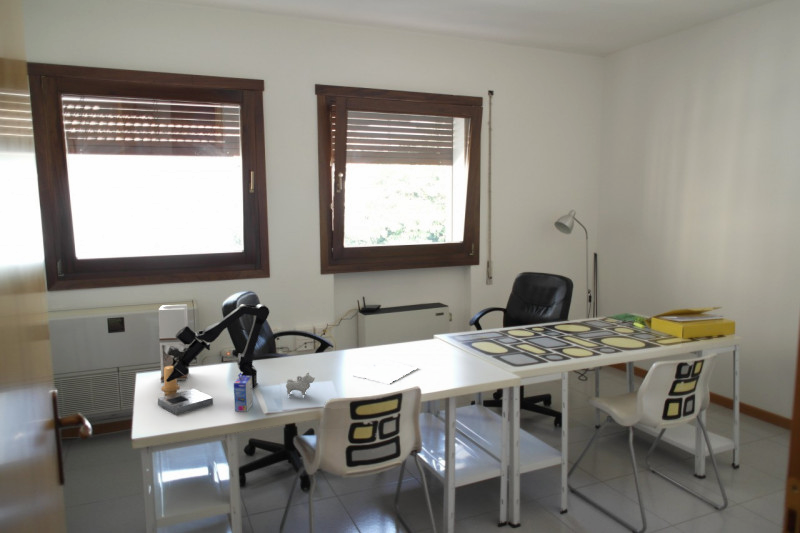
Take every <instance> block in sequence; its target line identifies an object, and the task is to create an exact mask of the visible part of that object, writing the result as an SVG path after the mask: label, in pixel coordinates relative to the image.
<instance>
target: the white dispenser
mask: <svg viewBox="0 0 800 533" xmlns="http://www.w3.org/2000/svg"><path fill="white" fill-rule="evenodd" d="M188 324H189V322H188V304H171V305H170V304H167V305H166V304H165V305H164V304H163V305H161V306H160V307H159V308H158V333H159V335H158V336H159V337H158V338H159V355H160V357H159V358H160V383H163V382H162V381H164V367H167V366H171V365H172V363H173V356H170V355H168V353H167V352H168V350H169V348H170V346H174V347H177V348H180V349H182V350H183V349H184V348H188V347H189V344H186V345H185V344H183V343H182V342H181V341H180V340H178V339H177V338H176V337H175V336H176V334H177V333H178V332H179V331H180V330H181V329H183V328H184V327H186V326H189V325H188ZM188 368H189V369H190V366H189V367H188ZM188 374H189V375H190V372H189V373H188ZM188 374H187V375H186V376H185V375H184V376H181V377H179V378H177V380H184V381H187V380H188V378H187V377H189V375H188Z"/></svg>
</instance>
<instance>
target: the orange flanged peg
mask: <svg viewBox="0 0 800 533" xmlns="http://www.w3.org/2000/svg"><path fill="white" fill-rule="evenodd" d="M172 371H173V366H167V367H164V382H163V383H164V384H163V386H161V388H160V391H162V392H164V396H167V395H171V394H175V393H178V391H179V390H180V389H181V385H180V384H178V383H177V382H178V381H177V378H176V379H174V380H172V381H169V382H167V381H166V380H167V378H168V377H169V375H170V374H171V373H172Z"/></svg>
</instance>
